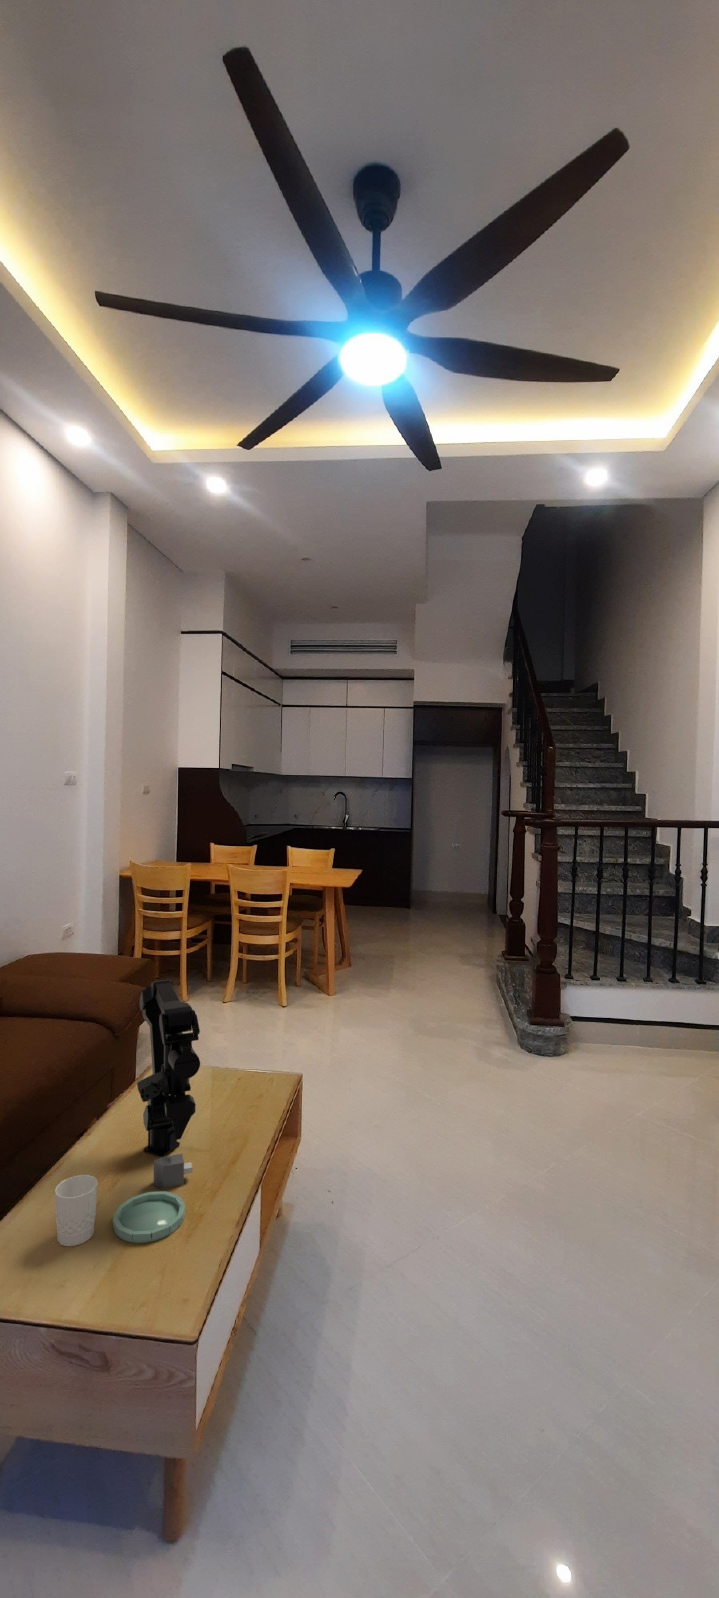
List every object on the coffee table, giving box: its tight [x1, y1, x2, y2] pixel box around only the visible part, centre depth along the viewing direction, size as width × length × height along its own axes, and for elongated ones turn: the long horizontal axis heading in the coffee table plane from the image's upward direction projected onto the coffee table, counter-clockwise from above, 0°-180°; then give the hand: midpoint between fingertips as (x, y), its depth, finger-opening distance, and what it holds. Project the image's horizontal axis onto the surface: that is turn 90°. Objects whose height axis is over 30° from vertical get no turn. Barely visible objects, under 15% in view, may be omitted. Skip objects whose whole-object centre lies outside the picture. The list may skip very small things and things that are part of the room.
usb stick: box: [152, 1153, 193, 1190], centre depth 150 cm, size 8×4×5 cm, turn 111°
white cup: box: [54, 1174, 99, 1247], centre depth 131 cm, size 8×8×10 cm
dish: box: [112, 1190, 186, 1244], centre depth 136 cm, size 14×14×2 cm
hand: (175, 1129), depth 150 cm, fingers open, 9 cm apart
